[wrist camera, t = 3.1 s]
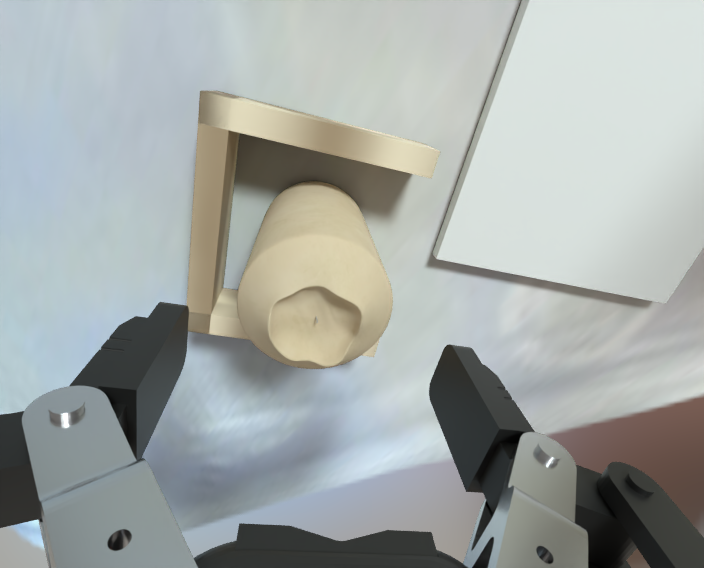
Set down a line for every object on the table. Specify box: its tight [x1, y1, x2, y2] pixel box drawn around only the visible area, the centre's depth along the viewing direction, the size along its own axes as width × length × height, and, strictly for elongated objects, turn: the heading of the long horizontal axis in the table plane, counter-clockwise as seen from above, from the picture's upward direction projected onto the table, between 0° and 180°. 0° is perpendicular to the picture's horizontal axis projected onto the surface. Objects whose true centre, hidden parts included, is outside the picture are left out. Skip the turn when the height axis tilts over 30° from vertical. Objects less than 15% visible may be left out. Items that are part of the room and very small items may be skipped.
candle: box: [237, 181, 393, 369], centre depth 17 cm, size 6×6×10 cm
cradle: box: [187, 91, 440, 357], centre depth 20 cm, size 10×11×3 cm
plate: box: [432, 0, 704, 304], centre depth 20 cm, size 16×16×1 cm
